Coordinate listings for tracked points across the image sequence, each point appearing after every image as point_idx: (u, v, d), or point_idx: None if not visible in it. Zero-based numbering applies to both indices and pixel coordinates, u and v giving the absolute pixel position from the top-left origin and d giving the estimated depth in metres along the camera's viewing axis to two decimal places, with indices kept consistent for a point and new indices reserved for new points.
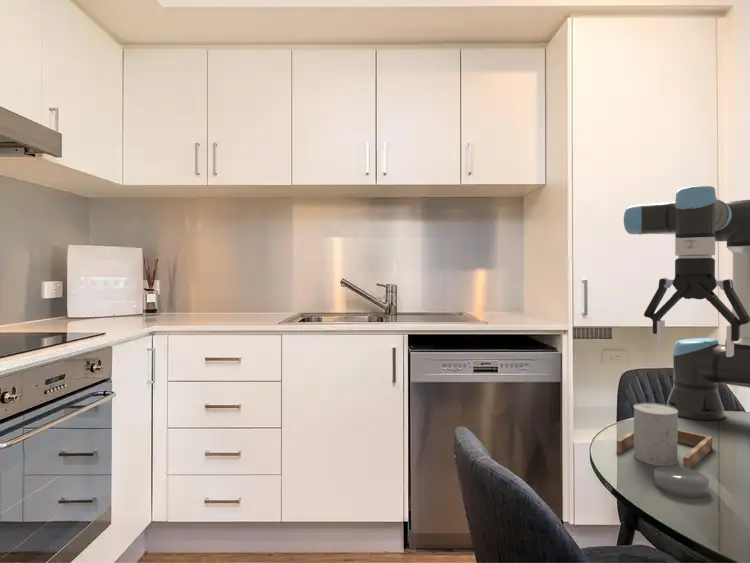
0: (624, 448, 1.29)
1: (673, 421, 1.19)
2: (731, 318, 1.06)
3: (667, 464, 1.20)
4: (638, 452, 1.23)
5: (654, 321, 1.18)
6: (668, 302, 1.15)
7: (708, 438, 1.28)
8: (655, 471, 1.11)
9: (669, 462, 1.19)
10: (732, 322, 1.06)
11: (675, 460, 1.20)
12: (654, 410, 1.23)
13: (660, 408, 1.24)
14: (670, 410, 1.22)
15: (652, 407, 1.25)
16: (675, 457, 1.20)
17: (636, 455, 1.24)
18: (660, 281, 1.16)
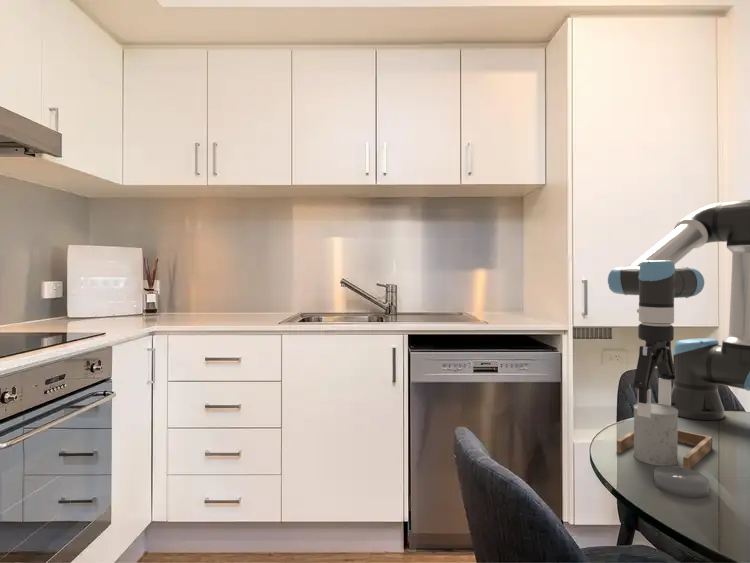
0: (624, 448, 1.29)
1: (673, 421, 1.19)
2: None
3: (667, 464, 1.20)
4: (638, 452, 1.23)
5: None
6: None
7: (708, 438, 1.28)
8: (655, 471, 1.11)
9: (669, 462, 1.19)
10: None
11: (675, 460, 1.20)
12: (654, 410, 1.23)
13: (660, 408, 1.24)
14: (670, 410, 1.22)
15: (652, 407, 1.25)
16: (675, 457, 1.20)
17: (636, 455, 1.24)
18: None
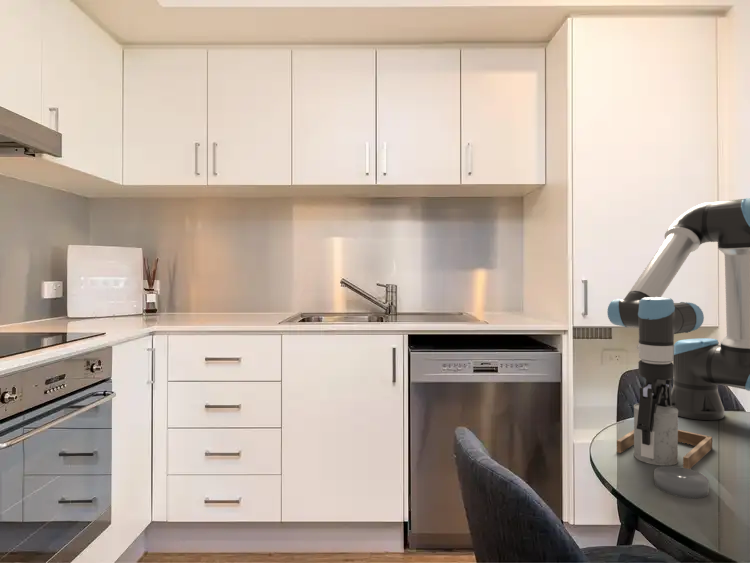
0: (624, 448, 1.29)
1: (673, 421, 1.19)
2: None
3: (667, 464, 1.19)
4: (638, 452, 1.23)
5: None
6: None
7: (708, 438, 1.28)
8: (655, 471, 1.11)
9: (670, 462, 1.19)
10: None
11: (675, 460, 1.20)
12: None
13: (660, 408, 1.24)
14: (670, 410, 1.22)
15: None
16: (675, 457, 1.20)
17: (636, 455, 1.24)
18: None
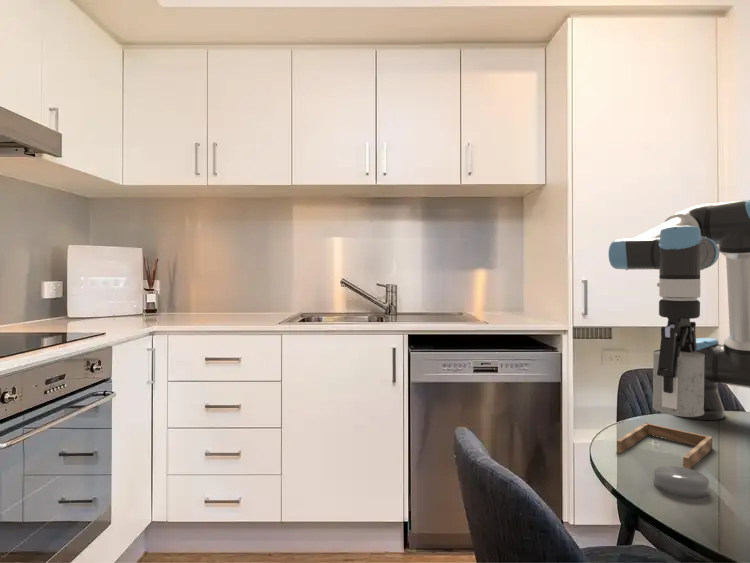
0: (624, 448, 1.29)
1: (699, 365, 1.04)
2: None
3: (692, 415, 1.04)
4: (659, 403, 1.08)
5: None
6: None
7: (708, 438, 1.28)
8: (655, 471, 1.11)
9: (695, 413, 1.04)
10: None
11: (702, 411, 1.05)
12: None
13: (684, 353, 1.09)
14: (695, 355, 1.07)
15: None
16: (701, 407, 1.05)
17: (656, 407, 1.08)
18: None
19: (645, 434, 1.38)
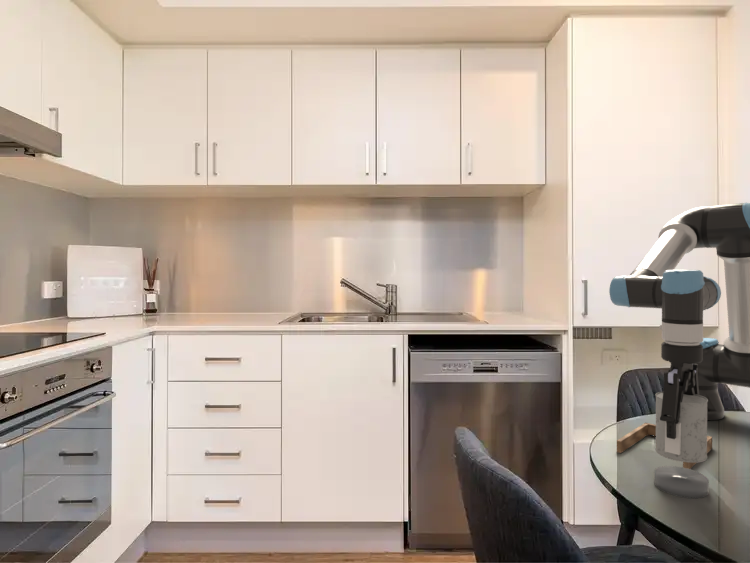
0: (624, 448, 1.29)
1: (702, 411, 1.03)
2: None
3: (695, 461, 1.03)
4: (662, 447, 1.07)
5: None
6: None
7: (708, 438, 1.28)
8: (655, 471, 1.11)
9: (698, 458, 1.03)
10: None
11: (705, 457, 1.04)
12: None
13: (686, 397, 1.08)
14: (698, 399, 1.06)
15: None
16: (705, 453, 1.04)
17: (659, 451, 1.08)
18: None
19: (645, 434, 1.38)
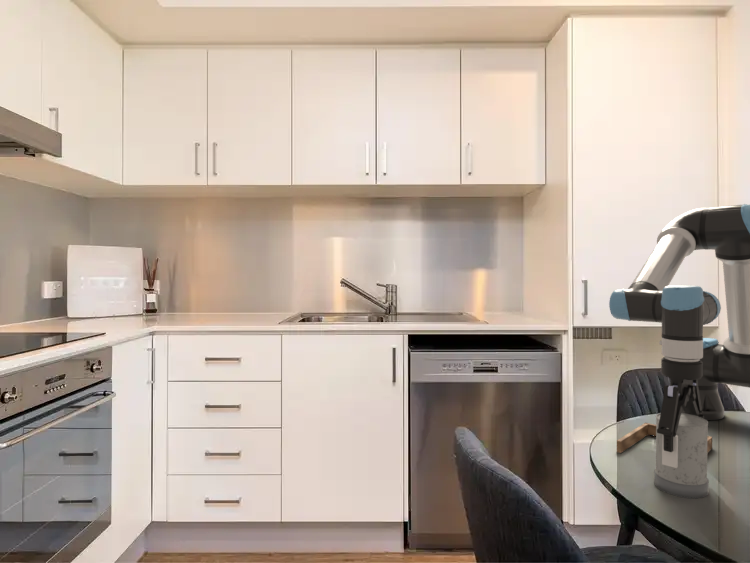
0: (624, 448, 1.29)
1: (703, 434, 1.03)
2: None
3: (695, 484, 1.04)
4: (662, 469, 1.07)
5: None
6: None
7: (708, 438, 1.28)
8: (655, 471, 1.11)
9: (698, 481, 1.04)
10: None
11: (705, 479, 1.05)
12: (680, 421, 1.07)
13: (687, 419, 1.08)
14: (699, 421, 1.06)
15: None
16: (705, 475, 1.04)
17: (659, 472, 1.08)
18: None
19: (645, 434, 1.38)
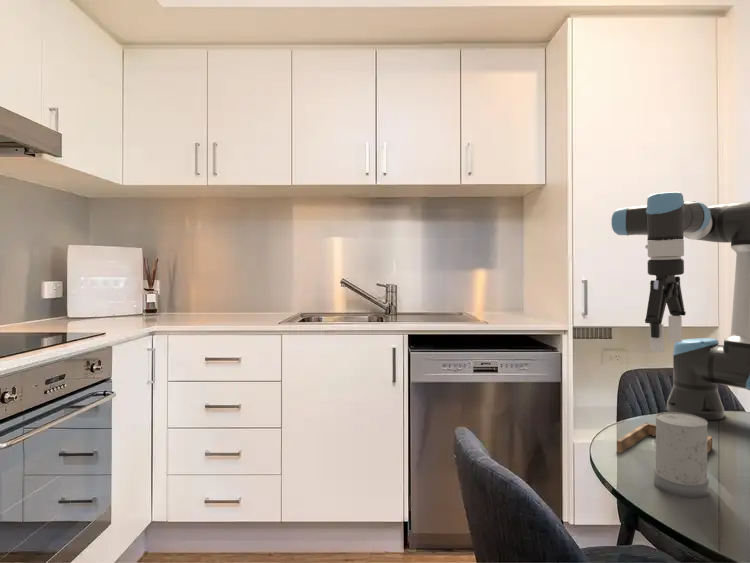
0: (624, 448, 1.29)
1: (702, 434, 1.03)
2: None
3: (695, 484, 1.04)
4: (662, 469, 1.07)
5: None
6: None
7: (708, 438, 1.28)
8: (655, 471, 1.11)
9: (698, 481, 1.04)
10: None
11: (705, 479, 1.05)
12: (680, 421, 1.07)
13: (686, 419, 1.08)
14: (698, 421, 1.06)
15: (677, 417, 1.09)
16: (705, 475, 1.04)
17: (659, 473, 1.08)
18: None
19: (645, 434, 1.38)
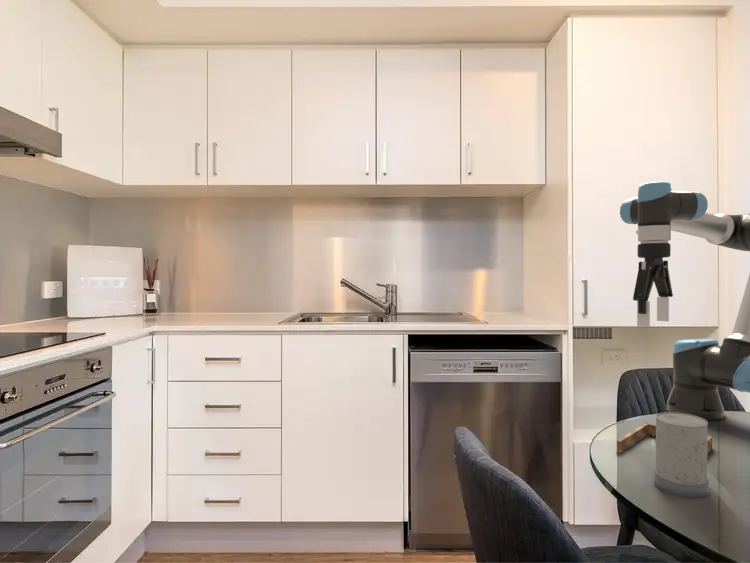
0: (624, 448, 1.29)
1: (702, 434, 1.03)
2: None
3: (695, 484, 1.04)
4: (662, 469, 1.07)
5: None
6: None
7: (708, 438, 1.28)
8: (655, 471, 1.11)
9: (698, 481, 1.04)
10: None
11: (705, 479, 1.05)
12: (680, 421, 1.07)
13: (686, 419, 1.08)
14: (698, 421, 1.06)
15: (677, 417, 1.09)
16: (705, 475, 1.04)
17: (659, 473, 1.08)
18: None
19: (645, 434, 1.38)
